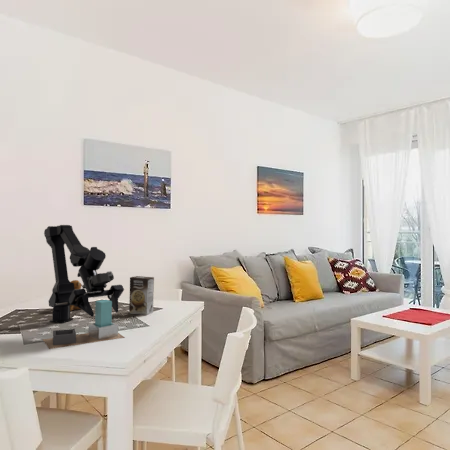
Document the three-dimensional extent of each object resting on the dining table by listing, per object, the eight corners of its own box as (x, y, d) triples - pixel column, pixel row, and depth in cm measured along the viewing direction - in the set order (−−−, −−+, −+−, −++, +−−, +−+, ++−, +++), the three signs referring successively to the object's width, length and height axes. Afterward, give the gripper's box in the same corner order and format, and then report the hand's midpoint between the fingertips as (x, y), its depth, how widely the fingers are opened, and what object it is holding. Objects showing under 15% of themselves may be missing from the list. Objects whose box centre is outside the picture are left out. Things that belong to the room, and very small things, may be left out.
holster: (52, 339, 131) (53, 330, 131) (74, 337, 134) (74, 328, 134) (53, 345, 125) (53, 335, 125) (75, 343, 128) (76, 333, 128)
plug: (94, 335, 136) (95, 301, 136) (105, 333, 139) (106, 299, 139) (100, 338, 133) (101, 302, 133) (111, 335, 137) (112, 301, 137)
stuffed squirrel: (91, 307, 187) (91, 279, 187) (70, 313, 174) (71, 283, 174) (74, 305, 190) (74, 278, 190) (52, 311, 177) (53, 282, 177)
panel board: (49, 351, 121) (49, 349, 121) (42, 341, 131) (42, 339, 131) (124, 339, 135) (124, 337, 135) (113, 331, 145) (113, 329, 145)
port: (88, 335, 136) (88, 324, 136) (107, 331, 142) (107, 320, 142) (98, 339, 131) (98, 327, 131) (117, 335, 137) (118, 324, 137)
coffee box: (128, 313, 174) (129, 277, 174) (136, 310, 180) (136, 275, 180) (147, 315, 171) (147, 278, 171) (153, 312, 177) (154, 276, 178)
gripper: (72, 266, 132) (88, 303, 125) (121, 262, 146) (138, 296, 138) (62, 286, 138) (76, 323, 130) (110, 281, 151) (125, 315, 144)
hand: (105, 314), depth 135 cm, fingers open, 9 cm apart
